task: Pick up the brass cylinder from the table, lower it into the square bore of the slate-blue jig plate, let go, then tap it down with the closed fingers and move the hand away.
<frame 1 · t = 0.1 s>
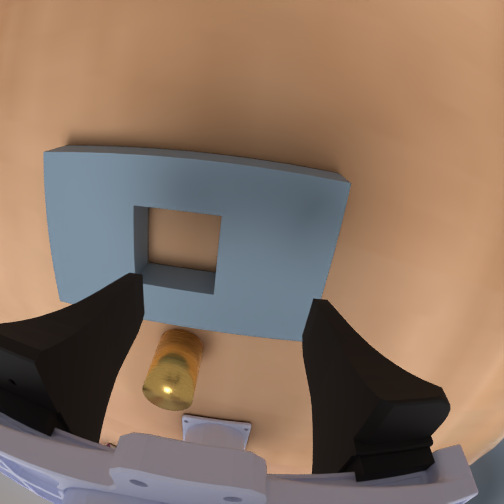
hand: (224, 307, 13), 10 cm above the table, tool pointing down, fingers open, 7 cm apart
brass cylinder: (181, 345, 27), on the table
jig: (184, 234, 22), on the table
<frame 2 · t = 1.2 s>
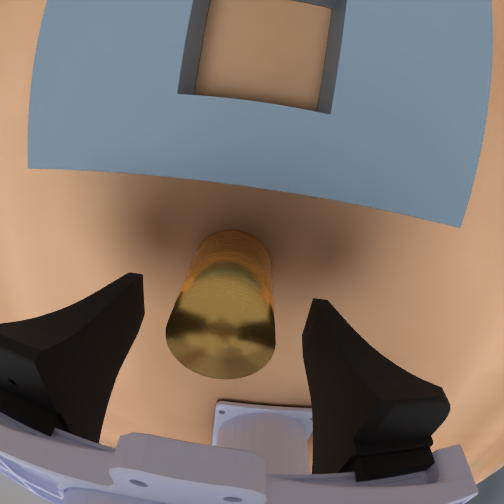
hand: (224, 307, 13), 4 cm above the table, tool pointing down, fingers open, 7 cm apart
brass cylinder: (232, 266, 16), on the table
jig: (263, 47, 12), on the table
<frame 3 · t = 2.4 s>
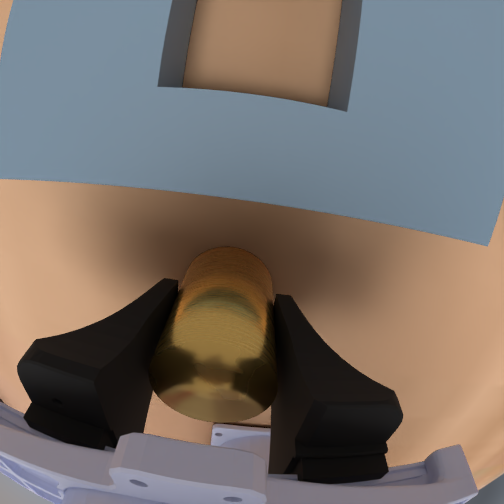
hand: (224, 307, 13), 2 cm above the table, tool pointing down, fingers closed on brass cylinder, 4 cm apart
brass cylinder: (228, 286, 14), on the table, touching gripper
jig: (264, 32, 10), on the table
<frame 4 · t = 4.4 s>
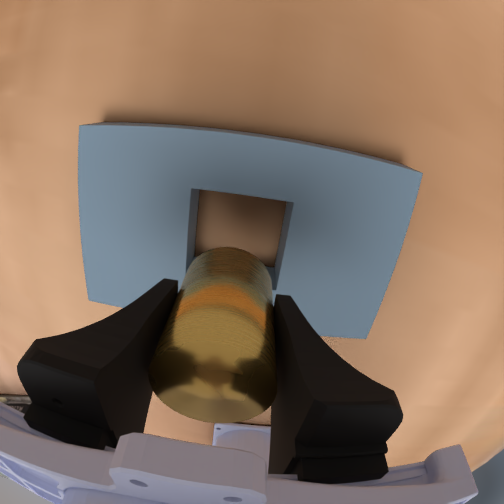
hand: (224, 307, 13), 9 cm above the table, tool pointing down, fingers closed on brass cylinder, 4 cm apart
brass cylinder: (228, 287, 14), point 7 cm above the table, touching gripper
radio: (14, 402, 34), on the table
jig: (239, 224, 20), on the table
when the fingers open (4 cm above the table, at t = 6.2 s): brass cylinder drops 2 cm, resting in jig.
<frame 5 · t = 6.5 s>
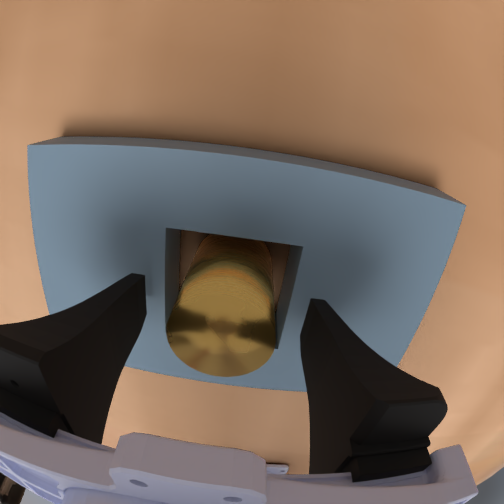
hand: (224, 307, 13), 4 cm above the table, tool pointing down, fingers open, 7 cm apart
brass cylinder: (233, 263, 16), resting in jig
radio: (2, 421, 30), on the table
jig: (232, 263, 16), on the table
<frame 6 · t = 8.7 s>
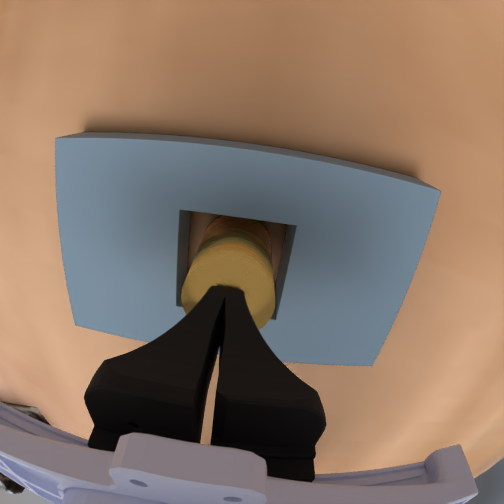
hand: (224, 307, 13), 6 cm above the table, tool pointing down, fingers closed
brass cylinder: (236, 245, 18), resting in jig
radio: (6, 409, 32), on the table
jig: (235, 245, 18), on the table
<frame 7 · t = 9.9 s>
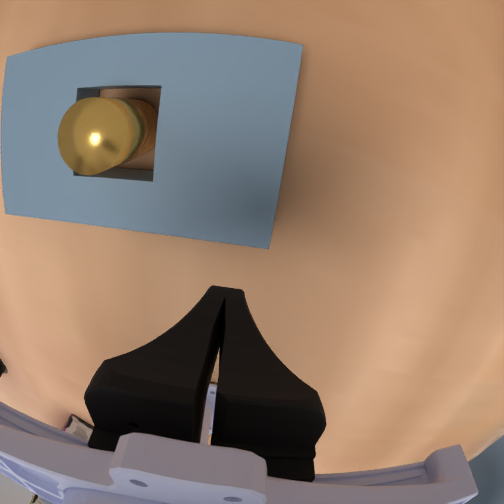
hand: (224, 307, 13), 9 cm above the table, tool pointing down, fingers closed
candy bar box: (78, 430, 36), on the table
brass cylinder: (132, 128, 18), resting in jig
jig: (131, 128, 18), on the table
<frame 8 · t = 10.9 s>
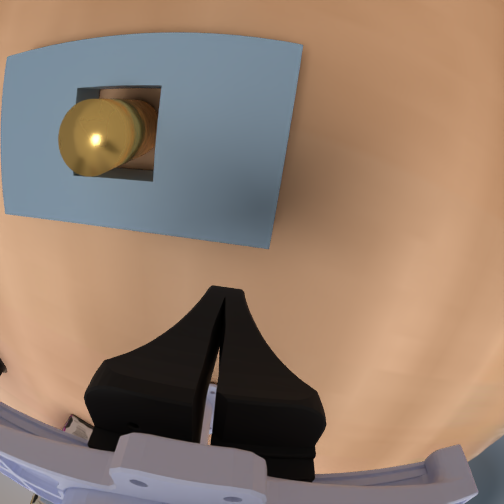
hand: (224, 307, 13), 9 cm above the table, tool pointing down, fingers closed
candy bar box: (78, 430, 36), on the table
brass cylinder: (132, 128, 18), resting in jig
jig: (131, 128, 18), on the table
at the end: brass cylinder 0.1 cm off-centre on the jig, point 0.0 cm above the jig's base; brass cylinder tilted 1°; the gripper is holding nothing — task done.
